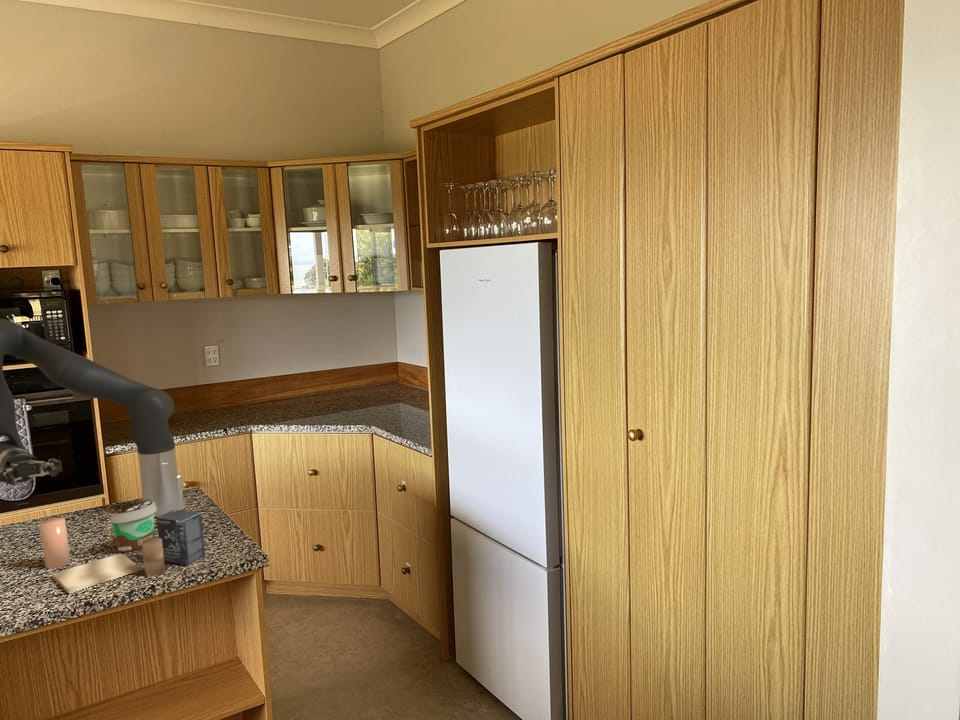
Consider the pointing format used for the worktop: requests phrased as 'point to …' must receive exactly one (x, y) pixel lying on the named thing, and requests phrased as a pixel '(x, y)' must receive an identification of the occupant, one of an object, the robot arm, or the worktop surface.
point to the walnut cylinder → (153, 556)
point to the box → (181, 536)
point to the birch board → (95, 573)
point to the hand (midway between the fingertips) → (34, 476)
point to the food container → (134, 526)
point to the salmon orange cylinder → (55, 543)
